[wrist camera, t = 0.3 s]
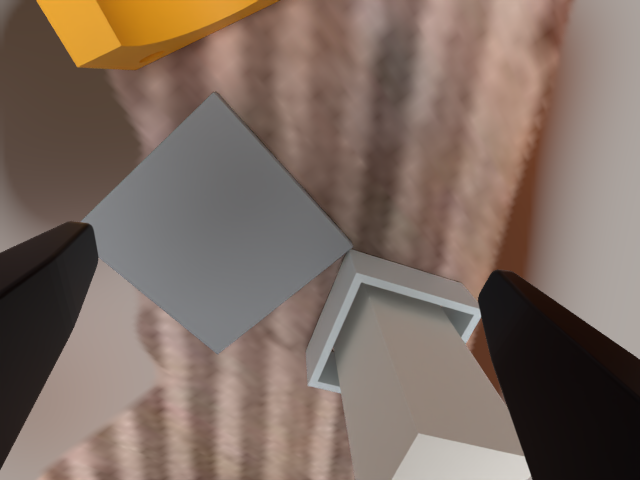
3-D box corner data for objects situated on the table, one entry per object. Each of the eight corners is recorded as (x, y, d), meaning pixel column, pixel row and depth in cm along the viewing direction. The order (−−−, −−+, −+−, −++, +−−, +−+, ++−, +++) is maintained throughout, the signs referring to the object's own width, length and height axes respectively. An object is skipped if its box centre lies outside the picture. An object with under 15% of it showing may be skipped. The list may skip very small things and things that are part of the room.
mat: (219, 347, 28) (217, 354, 27) (75, 228, 24) (68, 233, 24) (351, 242, 26) (353, 246, 25) (216, 91, 22) (213, 92, 21)
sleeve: (411, 377, 30) (425, 413, 27) (305, 351, 29) (307, 385, 26) (461, 283, 28) (484, 310, 24) (348, 248, 26) (356, 272, 23)
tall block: (401, 357, 30) (477, 546, 18) (332, 339, 29) (363, 528, 17) (433, 295, 28) (542, 460, 16) (360, 273, 27) (418, 433, 15)
